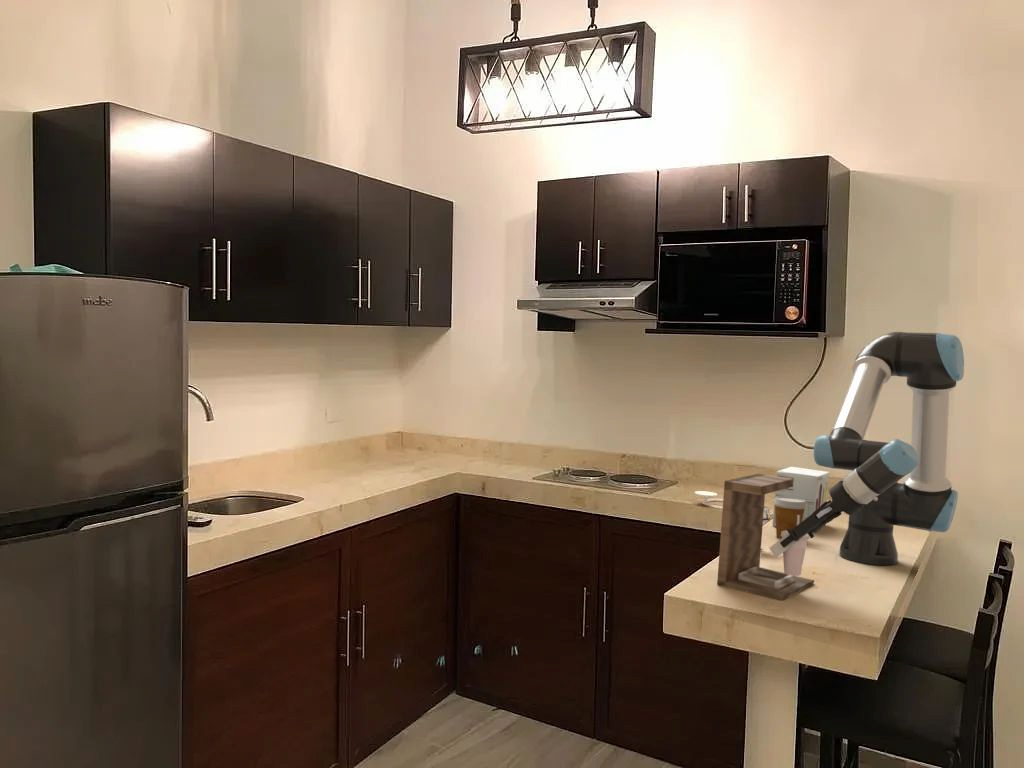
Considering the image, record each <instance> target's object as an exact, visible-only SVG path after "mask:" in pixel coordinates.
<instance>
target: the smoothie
mask: <svg viewBox="0 0 1024 768" xmlns="http://www.w3.org/2000/svg"><path fill="white" fill-rule="evenodd" d="M799 521H800V515H797V525H798V524H799ZM786 534H788V531H787V530H785V531H782V532H781V537H782V538H783V537H784V536H785V535H786ZM809 539H810V536H809V534H806V535H804V536H803V537H802V538H800V539H799V540H798V542H797V543H795V544H794V545H793V546H791V547H790V548H789V549H787V550H786V551H785V552H783V553H782V557H783V558H782V559H783V560H782V561H783V573H785V574H787V575H792V576H798V577H800V576H801V575H802V570H803V565H804V564H803V563H804V558H805V555H806V549H807V543H808V540H809Z"/></svg>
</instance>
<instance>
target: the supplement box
mask: <svg viewBox="0 0 1024 768" xmlns="http://www.w3.org/2000/svg"><path fill="white" fill-rule="evenodd" d="M830 474H831V473H830V471H825V470H819V469H810V468H803V467H796V466H789V467H785V468H782V469H780V470H777V471H776V475H775V476H778V477H785V478H791V479H793V487H790V488H786V489H782V490H779V491H775V492H774V501H775V498H776V497H793V498H799V499H803V500H805V503H806V507H805V509H804V514H803V518H802V521H804V520H805V519H806V518H807V517H809V516H810V515H811V514H812V513H813V512H814V511H816V510H817V509H818V508H820V507H821V505H822V504H823V503H825V502H826V501H827V502H828V493H829V492H828V491H829V484H830V483H829V481H830ZM774 501H773V502H774ZM773 505H774V504H773ZM772 526H773V527H776V517H775V505H774V506H773V515H772Z"/></svg>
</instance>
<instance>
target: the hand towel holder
mask: <svg viewBox="0 0 1024 768" xmlns="http://www.w3.org/2000/svg"><path fill="white" fill-rule="evenodd" d="M694 493H695V495H696V496H700V497H703V500H702V501H703V502H702V505H703V504H704V506H707V507H709V508H714V509H719V510H723V505H722V506H721V505H716V504H712V503H709V502H710V501H712V502H720V501H723V498H714V497H717V496H718V493H716V492H712V491H706V490H705V491H704V490H702V491H701V490H698V491H694Z"/></svg>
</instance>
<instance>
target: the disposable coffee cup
mask: <svg viewBox="0 0 1024 768" xmlns="http://www.w3.org/2000/svg"><path fill="white" fill-rule="evenodd" d="M774 500H775V501H773V505H775V517H776V526H775V534H776V535H775V536H776V538H777V539H779V538H780V539H781V538H782V537H781V532H782V531H785V530H788V529H790V530H792V529H793V528H794V527H796V526H797V515H800V521H799V524H800V523H801V522H802V518H803V514H804V509H805V507H806V503H805V500H803V499H799V498H793V497H776V498H775V497H774ZM780 539H779V540H780Z"/></svg>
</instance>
